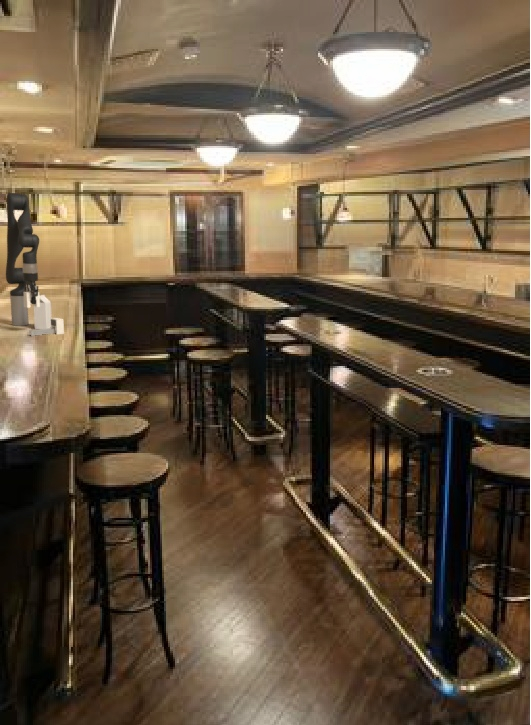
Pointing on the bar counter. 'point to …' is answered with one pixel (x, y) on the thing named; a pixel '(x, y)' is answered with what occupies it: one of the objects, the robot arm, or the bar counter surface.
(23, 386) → the bar counter surface
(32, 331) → the rail
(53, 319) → the block
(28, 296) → the cream rectangular block
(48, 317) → the milk carton
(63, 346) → the bar counter surface
